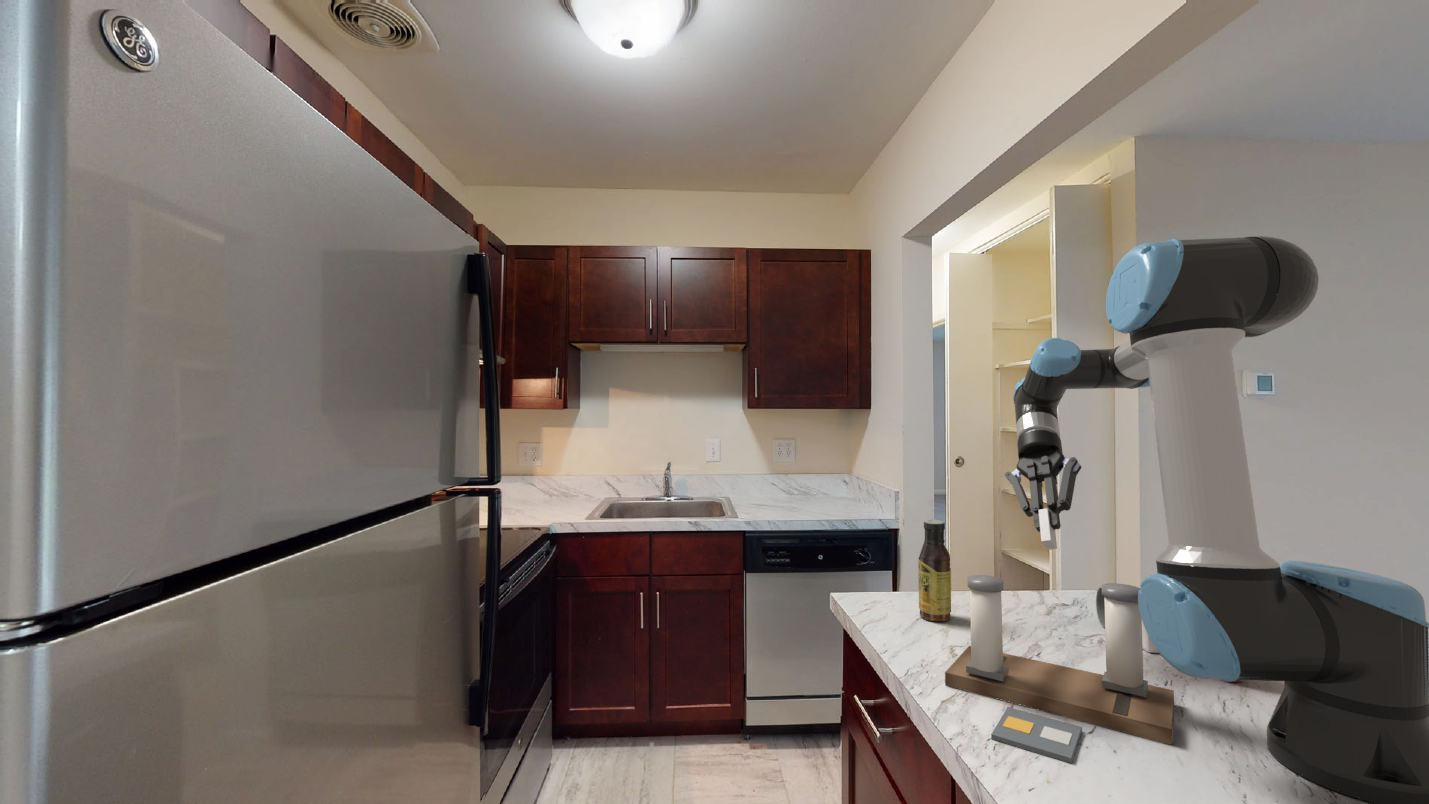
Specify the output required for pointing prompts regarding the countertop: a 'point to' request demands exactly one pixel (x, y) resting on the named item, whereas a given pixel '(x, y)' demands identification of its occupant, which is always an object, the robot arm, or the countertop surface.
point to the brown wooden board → (1072, 695)
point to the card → (1038, 734)
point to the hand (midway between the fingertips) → (1049, 544)
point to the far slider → (986, 627)
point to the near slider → (1123, 640)
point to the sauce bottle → (934, 574)
